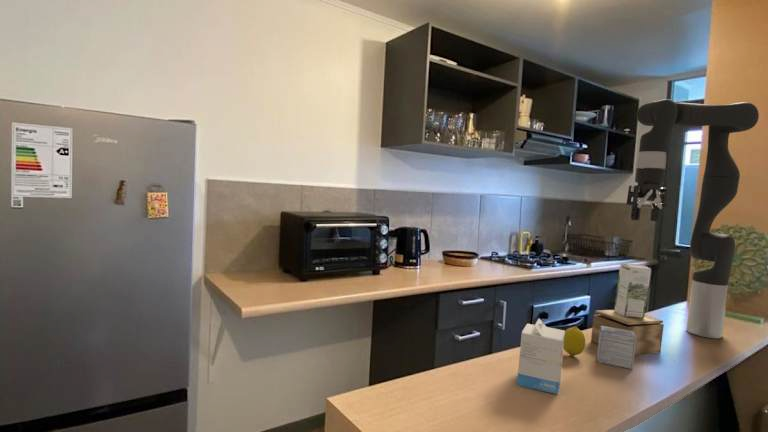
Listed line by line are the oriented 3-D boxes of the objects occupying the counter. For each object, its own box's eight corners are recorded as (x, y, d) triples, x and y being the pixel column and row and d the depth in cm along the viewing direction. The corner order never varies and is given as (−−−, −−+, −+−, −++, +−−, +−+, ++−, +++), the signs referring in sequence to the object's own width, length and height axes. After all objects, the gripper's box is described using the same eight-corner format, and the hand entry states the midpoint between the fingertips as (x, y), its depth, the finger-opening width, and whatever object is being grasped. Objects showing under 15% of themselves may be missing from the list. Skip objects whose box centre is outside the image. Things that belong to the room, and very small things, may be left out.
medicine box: (630, 363, 107) (634, 330, 107) (632, 370, 103) (636, 336, 103) (596, 356, 111) (599, 324, 110) (597, 362, 107) (600, 329, 106)
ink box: (557, 395, 87) (564, 333, 86) (516, 384, 91) (521, 324, 90) (560, 380, 95) (566, 322, 94) (522, 370, 99) (527, 315, 98)
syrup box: (633, 313, 122) (639, 264, 121) (645, 319, 116) (651, 267, 115) (613, 311, 122) (619, 262, 121) (624, 317, 116) (630, 265, 116)
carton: (625, 338, 127) (627, 312, 127) (660, 352, 117) (663, 324, 117) (590, 341, 122) (593, 314, 122) (624, 356, 112) (628, 327, 111)
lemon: (557, 355, 109) (560, 325, 109) (565, 350, 113) (568, 321, 113) (579, 362, 106) (582, 331, 105) (586, 357, 110) (589, 327, 109)
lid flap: (628, 311, 126) (628, 309, 126) (662, 323, 117) (662, 320, 117) (595, 312, 121) (595, 310, 121) (628, 324, 112) (628, 322, 112)
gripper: (654, 169, 133) (649, 220, 134) (622, 165, 128) (617, 218, 129) (678, 169, 126) (672, 222, 127) (646, 165, 121) (640, 221, 122)
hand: (644, 220), depth 128 cm, fingers open, 8 cm apart
